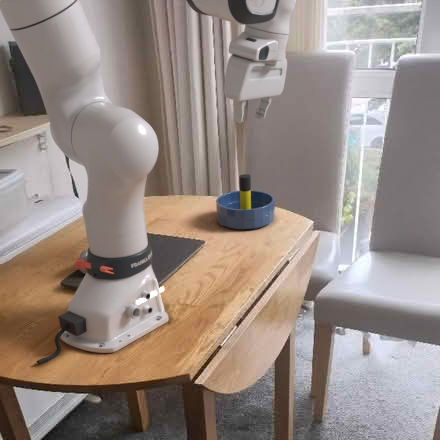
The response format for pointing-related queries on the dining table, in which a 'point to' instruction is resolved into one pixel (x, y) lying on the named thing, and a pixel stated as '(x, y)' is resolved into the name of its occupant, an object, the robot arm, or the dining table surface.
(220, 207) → the bowl
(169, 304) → the dining table surface
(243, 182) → the highlighter
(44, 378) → the dining table surface
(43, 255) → the dining table surface
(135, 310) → the robot arm
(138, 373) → the dining table surface
